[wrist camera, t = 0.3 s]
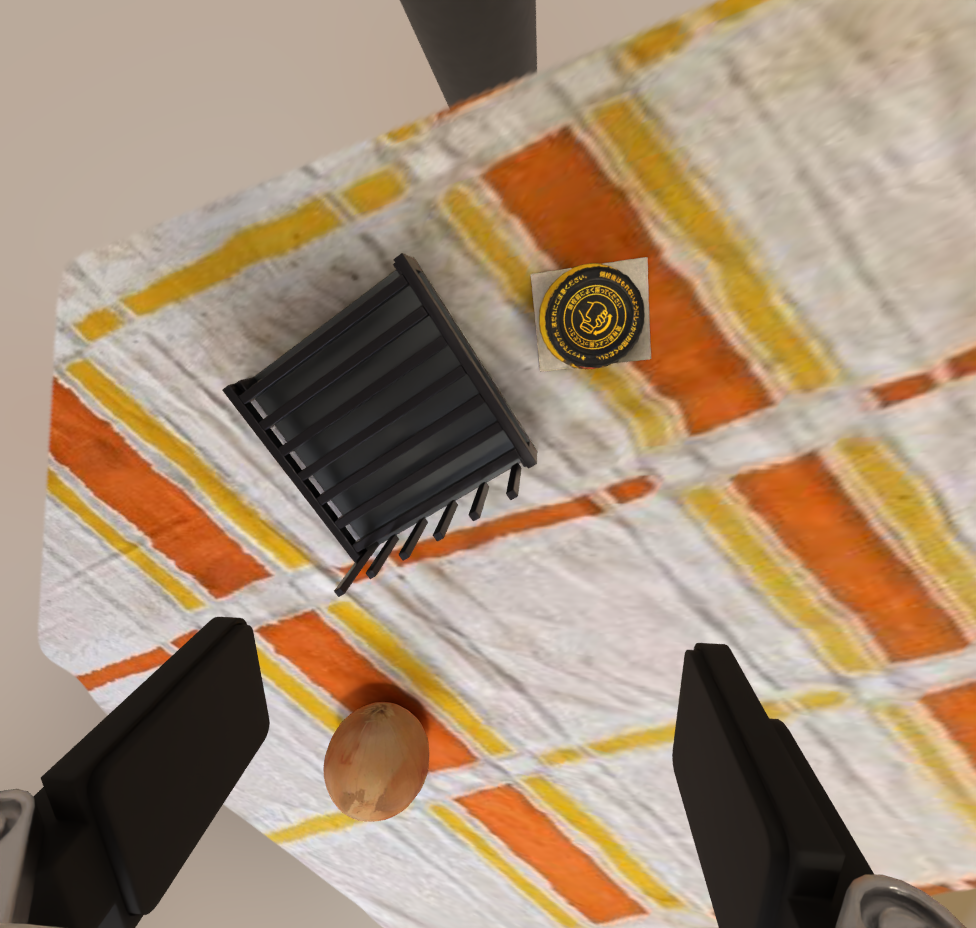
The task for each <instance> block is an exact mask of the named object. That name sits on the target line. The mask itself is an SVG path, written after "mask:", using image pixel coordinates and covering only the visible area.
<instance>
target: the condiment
mask: <svg viewBox="0 0 976 928" xmlns="http://www.w3.org/2000/svg"><path fill="white" fill-rule="evenodd" d="M531 283H532V293H533V303H534V313H535V323H536V333H537V344H538V354H539V364H540V372H544V371H552V370H560V369H568V368H579V369H595V368H601V367H605V366H608V365H610V364H612V363H620V362H628V361H638V360H646V359H651V348H650V324H649V302H648V263H647V257H644V258H637V259H630V260H623V261H616V262H610V263H603V264H599V263H590V264H585V265H580V266H576V267H573V268H569V269H562V270H556V271H549V272H542V273H535V274H531Z"/></svg>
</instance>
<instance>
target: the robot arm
mask: <svg viewBox="0 0 976 928" xmlns="http://www.w3.org/2000/svg"><path fill="white" fill-rule="evenodd" d="M269 724H270V722H269V715H268V710H267V704H266V699H265V693H264V688H263V682H262V677H261V671H260V666H259V661H258V655H257V650H256V644H255V639H254V633H253V629H252V627H251V626H249V625H247V623H246V621H245V620H244V619H242V618H232V617H215V618H213V619H212V620H210V621H209V622H208V623H207V624H206V625H205V626H204V627H203V628H202V629H201V630H200V631H199V632H197V633H196V634H195V635H194V636H193V637H192V638H191V639H190V640H189V641H188V642H187V643H186V644H185V645H183V646H182V647H181V648H180V649H179V650H178V651H177V652H176V653H175V654H174V655H173V656H172V657H170V658H169V659H168V660H167V661H166V662H165V663H164V664H163V665H162V666H161V667H160V668H159V669H158V670H156V671H155V672H154V673H153V674H152V675H151V676H150V677H149V678H148V679H147V680H146V681H145V682H143V683H142V684H141V685H140V686H139V687H138V688H137V689H136V690H135V691H134V692H133V693H132V694H131V695H129V696H128V697H127V698H126V699H125V700H124V701H123V702H122V703H121V704H120V705H119V706H118V707H116V708H115V709H114V710H113V711H112V712H111V713H110V714H109V715H108V716H107V717H106V718H105V719H104V720H102V722H100V723H99V724H98V725H97V726H96V727H95V728H94V729H93V730H92V731H91V732H89V733H88V734H87V735H86V736H85V737H84V738H83V739H82V740H81V741H80V742H79V743H78V744H77V745H76V746H74V748H72V749H71V750H70V751H69V752H68V753H67V754H66V755H65V756H64V757H63V758H62V759H60V760H59V761H58V762H57V763H56V764H55V765H54V766H53V767H52V768H51V769H50V770H48V771H47V772H46V773H45V774H44V775H43V776H42V777H41V780H42V783H43V786H44V787H43V788H42V789H41V790H40V791H39V792H38V793H37V794H36V795H35V796H34V797H33V796H32V795H31V794H30V793H29V792H28V791H24V790H19V789H13V790H4V791H0V928H135V927H136V926H137V924H138V923H139V921H140V920H141V918H142V917H143V915H147V914H149V913H150V912H151V911H152V910H153V909H154V908H155V907H156V906H157V904H158V903H159V902H160V900H161V898H162V897H163V895H164V894H165V892H166V891H167V889H168V888H169V886H170V885H171V883H172V882H173V880H174V879H175V877H176V875H177V874H178V872H179V871H180V869H181V868H182V866H183V865H184V863H185V862H186V860H187V859H188V857H189V855H190V854H191V852H192V851H193V849H194V848H195V846H196V845H197V843H198V842H199V840H200V838H201V837H202V835H203V834H204V832H205V831H206V829H207V828H208V826H209V825H210V823H211V822H212V820H213V819H214V817H215V815H216V814H217V812H218V811H219V809H220V808H221V806H222V805H223V803H224V802H225V800H226V799H227V797H228V796H229V794H230V792H231V791H232V789H233V788H234V786H235V785H236V783H237V782H238V780H239V779H240V777H241V776H242V774H243V772H244V771H245V769H246V768H247V766H248V765H249V763H250V762H251V760H252V759H253V757H254V756H255V754H256V752H257V751H258V749H259V748H260V746H261V745H262V743H263V742H264V740H265V738H266V736H267V734H268V730H269ZM672 757H673V768H674V773H675V776H676V780H677V783H678V787H679V790H680V794H681V797H682V801H683V804H684V808H685V811H686V815H687V818H688V822H689V825H690V829H691V832H692V836H693V839H694V843H695V846H696V850H697V853H698V856H699V860H700V863H701V867H702V870H703V874H704V877H705V881H706V884H707V888H708V891H709V895H710V898H711V902H712V905H713V909H714V912H715V916H716V919H717V923H718V926H719V928H966V927H965V926H964V925H963V924H962V923H961V922H960V921H959V920H958V919H957V918H956V917H955V916H954V915H953V914H952V913H951V912H950V911H949V910H948V909H946V908H945V907H944V906H943V905H941V904H940V903H939V902H937V901H936V900H934V899H933V898H932V897H930V896H929V895H928V894H926V893H925V892H923V891H921V890H919V889H917V888H916V887H914V886H912V885H910V884H908V883H906V882H904V881H902V880H898V879H895V878H892V877H888V876H885V875H874V873H873V871H872V870H871V868H870V866H869V865H868V863H867V861H866V860H865V858H864V856H863V854H862V853H861V851H860V849H859V848H858V846H857V844H856V843H855V841H854V839H853V838H852V836H851V834H850V832H849V831H848V829H847V827H846V826H845V824H844V822H843V821H842V819H841V817H840V816H839V814H838V812H837V810H836V809H835V807H834V805H833V804H832V802H831V800H830V799H829V797H828V795H827V794H826V792H825V790H824V789H823V787H822V785H821V783H820V782H819V780H818V778H817V777H816V775H815V773H814V772H813V770H812V768H811V767H810V765H809V763H808V761H807V760H806V758H805V756H804V755H803V753H802V751H801V750H800V748H799V746H798V745H797V743H796V741H795V739H794V738H793V736H792V734H791V733H790V731H789V730H788V728H787V727H786V725H785V724H784V723H783V722H782V721H780V720H779V719H769V717H768V716H767V714H766V712H765V710H764V709H763V707H762V705H761V703H760V701H759V700H758V698H757V696H756V694H755V692H754V691H753V689H752V687H751V685H750V684H749V682H748V680H747V678H746V676H745V675H744V673H743V671H742V669H741V667H740V666H739V664H738V662H737V660H736V658H735V657H734V655H733V653H732V651H731V650H730V648H729V647H728V646H727V645H725V644H708V643H697V644H696V645H695V647H694V650H686V652H685V656H684V664H683V672H682V680H681V688H680V696H679V704H678V712H677V720H676V728H675V736H674V744H673V754H672Z"/></svg>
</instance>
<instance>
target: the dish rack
mask: <svg viewBox="0 0 976 928" xmlns="http://www.w3.org/2000/svg"><path fill="white" fill-rule="evenodd" d="M394 261H395V263H394V264H393V265H394V267H395V268H396V270H395V271H394V272H393V273H391V274H390V275H389V276H387V277H386V278H385V279H383V280H382V281H381V282H379V283H378V284H377V285H375V286H374V287H373V288H371V289H370V290H369V291H367V292H366V293H365V294H363V295H362V296H361V297H359V298H358V299H357V300H355V301H354V302H353V303H351V304H350V305H349V306H347V307H346V308H345V309H344V310H342V311H341V312H340V313H338V314H337V315H336V316H334V317H333V318H332V319H330V320H329V321H328V322H326V323H325V324H324V325H322V326H321V327H320V328H318V329H317V330H316V331H314V332H313V333H312V334H310V335H309V336H308V337H306V338H305V339H304V340H302V341H301V342H300V343H298V344H297V345H296V346H294V347H293V348H292V349H290V350H289V351H288V352H286V353H285V354H284V355H282V356H281V357H280V358H278V359H277V360H276V361H274V362H273V363H272V364H270V365H269V366H268V367H267V368H265V369H264V370H263V371H261V372H260V373H259V374H257V375H256V376H255V377H253V378H249V379H244V380H240V381H238V382H237V383H235V384H231V385H228V386H227V387H225V388H224V389H223V392H224V393H225V394H226V396H227V397H228V398H229V400H230V401H231V402H232V403H233V405H234V406H235V407H236V409H237V410H238V411H239V413H240V414H241V415H242V416H243V418H244V419H245V420H246V422H247V423H248V424H249V426H250V427H251V428H252V429H253V431H254V432H255V433H256V435H257V436H258V437H259V439H260V440H261V441H262V442H263V444H264V445H265V446H266V448H267V449H268V450H269V452H270V453H271V454H272V455H273V457H274V458H275V459H276V461H277V462H278V463H279V465H280V466H281V467H282V468H283V470H284V471H285V472H286V474H287V475H288V476H289V478H290V479H291V480H292V482H293V483H294V484H295V485H296V487H297V488H298V489H299V491H300V492H301V493H302V495H303V496H304V497H305V498H306V500H307V501H308V502H309V504H310V505H311V506H312V508H313V509H314V510H315V511H316V513H317V514H318V515H319V517H320V518H321V519H322V521H323V522H324V523H325V524H326V526H327V527H328V528H329V530H330V531H331V532H332V534H333V535H334V536H335V537H336V539H337V540H338V541H339V543H340V544H341V545H342V547H343V548H344V549H345V550H346V552H347V553H348V554H349V556H350V557H351V558H352V560H353V561H354V562H355V563H354V565H353V566H352V567H351V569H350V570H349V571H348V573H347V574H346V576H345V577H344V578H343V580H342V581H341V582H340V584H339V585H338V586H337V588H336V589H335V590H334V592H335V593H336V594H337V596H338V597H340V596H341V595H343V594H345V592H346V591H347V589H348V588H349V587H350V585H351V584H352V582H353V581H354V579H355V578H356V576H357V575H358V574H359V572H360V571H361V569H362V568H363V566H364V565H365V564H366V562H367V561H368V559H369V558H370V556H372V554H373V553H374V552H375V550H376V549H377V547H378V546H379V545H380V544H381V543H383V542H385V541H387V540H388V541H387V542H386V544H385V545H384V547H383V548H382V550H381V551H380V553H379V554H378V555H377V557H376V558H375V560H374V561H373V563H372V564H371V566H370V567H369V569H368V570H367V572H366V574H367V576H368V577H369V578H370V579H372V578H373V577H375V576H376V575H377V574H378V572H379V570H380V569H381V567H382V566H383V564H384V562H385V561H386V559H387V558H388V556H389V554H390V553H391V551H392V550H393V548H394V546H395V545H396V543H397V542H398V540H399V538H398V537H397V534H399V533H400V532H402V531H404V530H406V529H407V528H409V527H411V526H412V525H414V524H416V523H417V524H416V526H415V527H414V529H413V531H412V532H411V534H410V536H409V537H408V539H407V541H406V543H405V544H404V546H403V548H402V549H401V551H400V553H399V556H400V557H401V559H402V560H405V559H407V558H409V557H410V555H411V553H412V551H413V549H414V547H415V546H416V544H417V542H418V540H419V538H420V536H421V534H422V533H423V531H424V529H425V527H426V525H427V523H428V522H427V520H426V519H425V518H426V517H428V516H430V515H431V514H433V513H435V512H437V511H438V510H440V509H442V508H443V507H445V506H447V507H446V509H445V511H444V513H443V515H442V517H441V519H440V521H439V523H438V525H437V527H436V529H435V532H434V534H433V536H434V538H435V539H436V540H437V541H439V540H441V539H443V538H444V536H445V534H446V532H447V529H448V527H449V525H450V522H451V520H452V518H453V515H454V513H455V511H456V508H457V506H458V504H457V503H456V501H455V500H457V499H459V498H461V497H462V496H464V495H466V494H468V493H469V492H471V491H473V490H474V489H476V488H478V490H477V493H476V496H475V498H474V501H473V504H472V507H471V510H470V512H469V516H470V518H471V519H472V520H473V521H475V520H477V519H478V518H480V516H481V512H482V509H483V506H484V502H485V499H486V496H487V492H488V489H489V486H488V484H487V483H486V482H488V481H490V480H492V479H493V478H495V477H497V476H498V475H500V474H502V473H504V472H505V471H507V470H509V469H511V471H510V476H509V482H508V487H507V492H506V494H507V496H508V497H509V499H510V500H512V499H514V498H516V497H517V496H518V491H519V483H520V476H521V467H520V465H519V463H522V465H523V466H524V467H526V466H527V467H528V468H530V467H532V466H534V465H536V464H537V450H536V449H535V447H534V445H533V444H532V442H531V441H530V439H529V438H528V436H527V434H526V433H525V431H524V430H523V428H522V427H521V425H520V423H519V422H518V420H517V419H516V417H515V416H514V414H513V412H512V411H511V409H510V408H509V406H508V404H507V403H506V401H505V400H504V398H503V397H502V395H501V393H500V392H499V390H498V389H497V387H496V386H495V384H494V382H493V381H492V379H491V378H490V376H489V375H488V373H487V371H486V370H485V368H484V367H483V365H482V364H481V362H480V360H479V359H478V357H477V356H476V354H475V353H474V351H473V349H472V348H471V346H470V345H469V343H468V342H467V340H466V338H465V337H464V335H463V334H462V332H461V331H460V329H459V327H458V326H457V324H456V323H455V321H454V320H453V318H452V316H451V315H450V313H449V312H448V310H447V309H446V307H445V305H444V304H443V302H442V301H441V299H440V298H439V296H438V294H437V293H436V291H435V290H434V288H433V287H432V285H431V283H430V282H429V280H428V279H427V277H426V275H425V274H424V272H423V271H422V269H421V268H420V266H419V264H418V263H417V261H416V260H415V258H413V257H410V256H408V255H406V254H403V253H401V254H400V255H399V256H397V257H396V258H395V259H394ZM253 400H256V401H257V402H258V404H259V405H260V406H261V408H262V409H263V410H264V412H265V413H266V414H267V415H268V416H267V417H266V418H264V419H263V418H262V417H261V415H260V414H259V413H258V411H257V410H256V409H255V407H254V406H253V405H252V403H251V402H252V401H253ZM274 425H275V426H276V427H277V429H278V430H279V431H280V433H281V434H282V435H283V437H284V438H285V439H286V441H287V443H285V444H284V445H283V444H282V443H281V442H280V440H279V439H278V438H277V436H276V435H275V434H274V432H273V431H272V430H271V427H273V426H274ZM292 451H295V453H296V454H297V455H298V456H299V458H300V459H301V460H302V462H303V463H304V464H305V466H306V468H305V469H303V470H302V469H301V468H300V467H299V465H298V464H297V463H296V461H295V460H294V459H293V457H292V456H291V455H290V454H289V453H291V452H292ZM312 475H313V476H314V478H315V479H316V480H317V482H318V483H319V484H320V486H321V487H322V488H323V490H324V491H325V492H323V493H322V494H320V493H319V492H318V490H317V489H316V488H315V486H314V485H313V484H312V482H311V481H310V480H309V479H308V478H309V477H311V476H312ZM330 500H332V501H333V503H334V504H335V505H336V507H337V508H338V509H339V511H340V512H341V513H342V516H341V517H339V518H338V517H337V515H336V514H335V513H334V511H333V510H332V509H331V508H330V506H329V505H328V504H327V502H328V501H330ZM348 524H350V525H351V527H352V528H353V529H354V531H355V532H356V533H357V535H358V536H359V537H360V539H358V540H357V541H356V540H355V539H354V538H353V536H352V535H351V534H350V533H349V531H348V530H347V529H346V527H345V526H346V525H348Z"/></svg>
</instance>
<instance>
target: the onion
mask: <svg viewBox="0 0 976 928" xmlns="http://www.w3.org/2000/svg"><path fill="white" fill-rule="evenodd" d="M428 766H429V744H428V738H427V736H426V734H425V731H424V729H423V727H422V725H421V723H420V721H419V720H418V719H417V718H416V717H415V716H414V715H413V714H412V713H411V712H409V711H408V710H407V709H405V708H403V707H401V706H400V705H397V704H395V703H390V702H376V703H372V704H368V705H366V706H363V707H361V708H359V709H357V710H356V711H354V712H353V713H351V714H350V715H349V716H348V717H347V718H345V719H344V721H343V722H342V723H341V724H340V725H339V727H338V728H337V730H336V731H335V733H334V735H333V736H332V739H331V741H330V743H329V746H328V749H327V752H326V755H325V760H324V779H325V784H326V787H327V790H328V792H329V795H330V797H331V799H332V801H333V802H334V803H335V805H336V806H337V807H338V808H339V809H340V810H341V811H342V812H343V813H344V814H346V815H347V816H349V817H351V818H353V819H356V820H359V821H381V820H385V819H388V818H391V817H393V816H395V815H397V814H398V813H400V812H402V811H403V810H404V809H406V808H407V807H408V806H409V804H410V803H411V802H412V801H413V800H414V798H415V797H416V796H417V794H418V793H419V792H420V790H421V788H422V786H423V784H424V782H425V779H426V776H427V772H428Z"/></svg>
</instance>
